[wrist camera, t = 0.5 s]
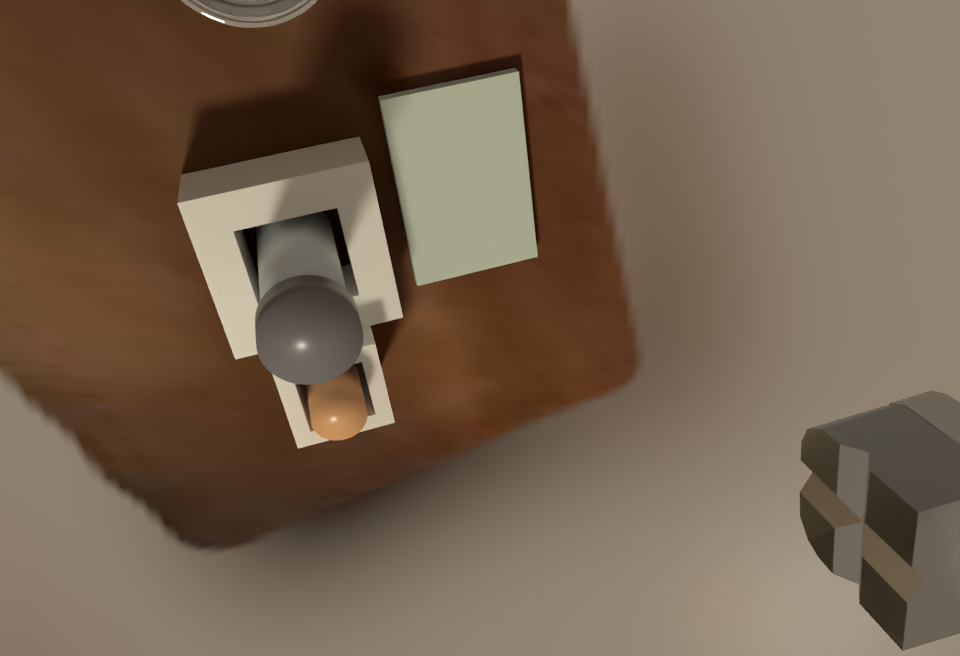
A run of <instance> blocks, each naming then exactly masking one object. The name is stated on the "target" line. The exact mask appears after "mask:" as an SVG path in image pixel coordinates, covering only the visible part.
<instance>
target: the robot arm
mask: <svg viewBox="0 0 960 656" xmlns="http://www.w3.org/2000/svg"><path fill="white" fill-rule="evenodd" d="M801 461H802V462H803V463H804V464H805V465H806V466H807V467H808V468H809V469H810V470H811V471H812V472H813V473H812V474H811V476H810V477H809V479H808V480H807V482H806V483H805V485H804V487H803V488H802V489H801V491H800V517H801V520H802V523H803V526H804V529H805V532H806V535H807V538H808V541H809V542H810V544H811V546H812V547H813V549H814V551H815V552H816V554H817V556H818V557H819V558H820V560H821V561H822V562H823V563H824V564H825V565H826V566H827V567H828V569H829V570H830V571H831V572H832V573H833V574H835V575H837V576H840V577H843V578H845V579H848V580H850V581H853V582H855V583H857V584H859V603H860V605H861V606H862V607H863V608H864V609H865V610H866V611H867V612H868V613H869V614H870V616H871V617H872V618H873V619H874V620H875V621H876V622H877V623H878V624H879V625H880V627H882V629H883V630H884V631H885V632H886V633H887V634H888V635H889V636H890V638H891V639H892V640H893V641H894V642H895V643H896V644H897V645H898V646H899V647H900V649H902V651H903V650H906V649H910V648H913V647H916V646H919V645H923V644H926V643H929V642H933V641H936V640H939V639H943V638H946V637H949V636H952V635H956V634H959V633H960V403H959V402H958V401H956V400H955V399H953V398H952V397H950V396H949V395H947V394H944V393H940V392H936V391H929V392H925V393H922V394H919V395H916V396H912V397H909V398H907V399H903V400H900V401H897V402H893V403H891V404H889V405H888V406H883V407H880V408H876V409H873V410H870V411H866V412H863V413H860V414H856V415H853V416H850V417H847V418H843V419H839V420H836V421H833V422H829V423H827V424H823V425H820V426H816V427H813V428H809V429H807V431H806V433H805V435H804V437H803V439H802V442H801Z"/></svg>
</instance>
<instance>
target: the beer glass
mask: <svg viewBox="0 0 960 656" xmlns="http://www.w3.org/2000/svg"><path fill="white" fill-rule="evenodd" d="M181 1H182V2H183V3H185V4H186V5H187V6H189V7H190V8H192V9H193V10H195V11H196V12H198V13H200V14H202V15H203V16H205V17H208V18H210V19H212V20H215V21H217V22H220V23H223V24H227V25H231V26H237V27H245V28H260V27H268V26H273V25H277V24H280V23H283V22H286V21H289V20H291V19H293V18H295V17H297V16H298V15H300V14H302V13H303V12H305V11H306V10H307V9H309V8H310V7H311V6H312V5H313V4H314V3H316V1H317V0H181Z"/></svg>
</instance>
